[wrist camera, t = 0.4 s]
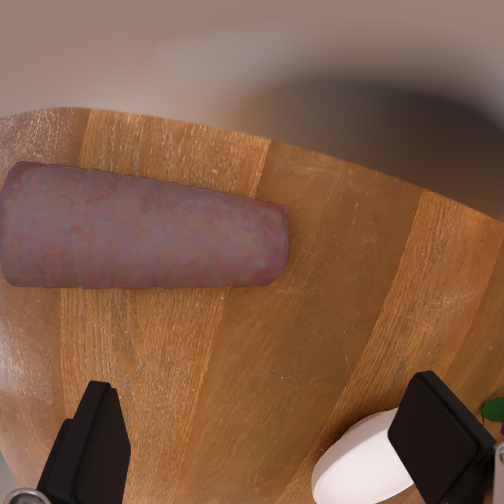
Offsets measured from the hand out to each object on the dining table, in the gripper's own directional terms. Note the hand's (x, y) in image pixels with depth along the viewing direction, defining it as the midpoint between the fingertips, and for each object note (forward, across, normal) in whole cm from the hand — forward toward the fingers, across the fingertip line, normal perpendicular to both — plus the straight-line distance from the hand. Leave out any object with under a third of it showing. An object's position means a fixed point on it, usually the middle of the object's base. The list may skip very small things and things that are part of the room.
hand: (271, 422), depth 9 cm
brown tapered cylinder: (+19, +7, -1) cm, 20 cm away
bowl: (+19, -20, +25) cm, 37 cm away
